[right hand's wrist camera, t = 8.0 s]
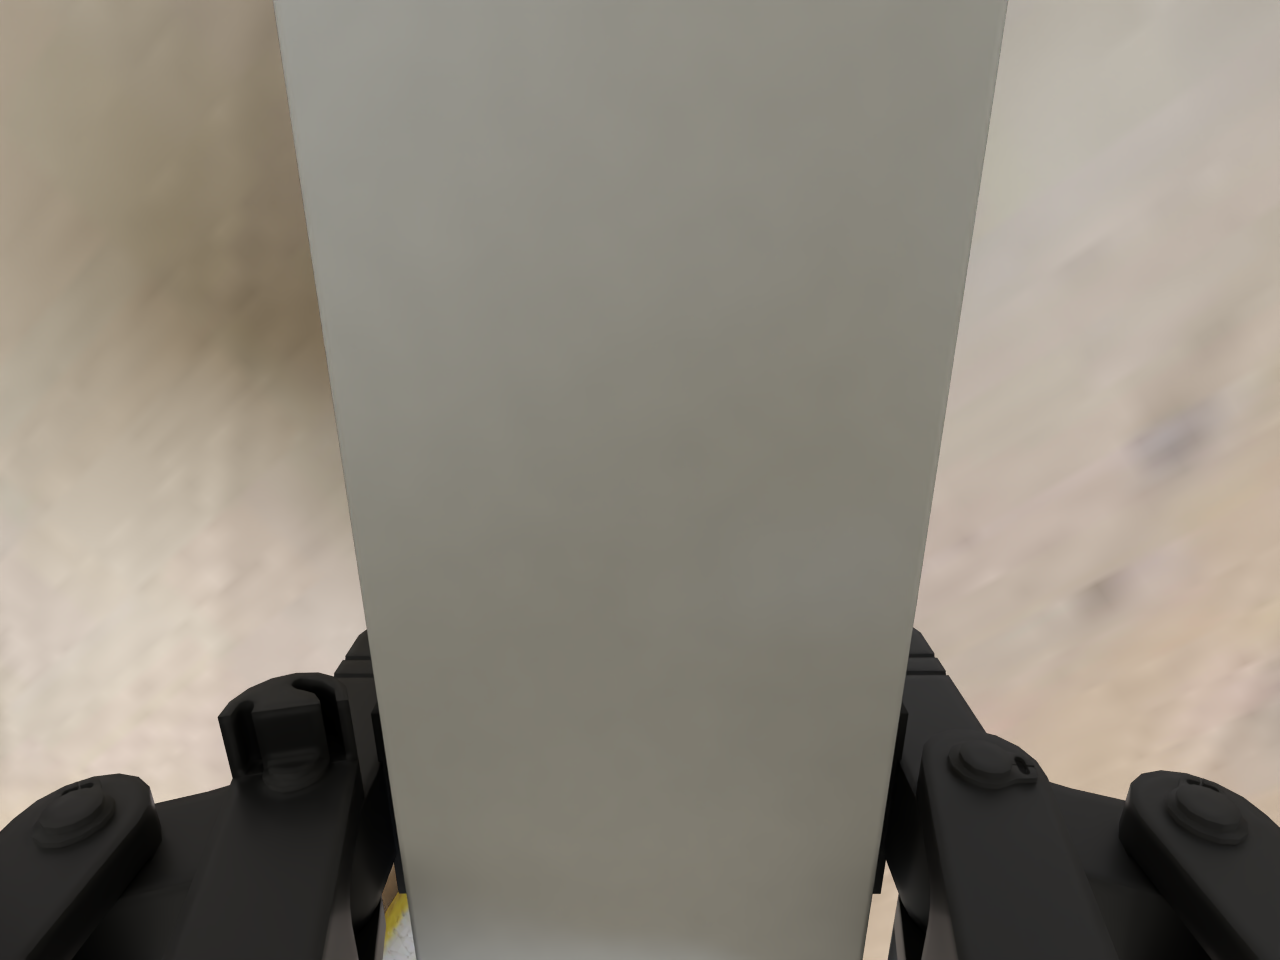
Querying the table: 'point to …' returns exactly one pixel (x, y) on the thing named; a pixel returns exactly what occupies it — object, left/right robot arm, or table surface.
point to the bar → (640, 440)
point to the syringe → (398, 931)
